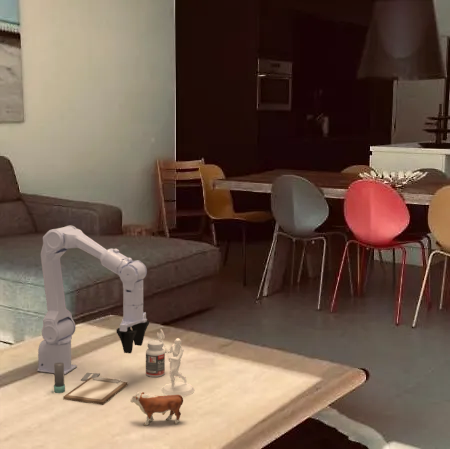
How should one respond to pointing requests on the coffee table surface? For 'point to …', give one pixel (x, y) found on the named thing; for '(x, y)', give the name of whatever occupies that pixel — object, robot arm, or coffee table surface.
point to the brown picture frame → (96, 390)
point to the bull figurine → (158, 405)
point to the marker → (59, 378)
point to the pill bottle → (155, 359)
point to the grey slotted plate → (90, 376)
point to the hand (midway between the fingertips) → (133, 348)
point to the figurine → (175, 370)
